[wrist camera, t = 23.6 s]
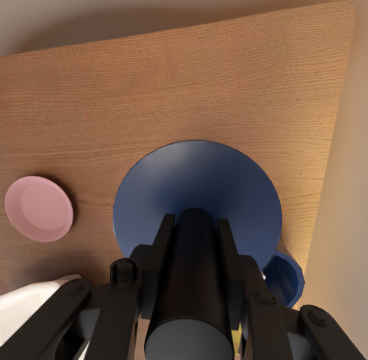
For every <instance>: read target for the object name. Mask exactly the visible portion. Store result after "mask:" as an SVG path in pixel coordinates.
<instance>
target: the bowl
mask: <svg viewBox="0 0 368 360" xmlns="http://www.w3.org/2000/svg"><path fill="white" fill-rule="evenodd" d="M76 278H82V277H81V276H80V275H79V274H74V275H66V276H64V277H61V278H59V279H56V280H53V281H48V282H39V283H32V284H29V285H27V286H24V287H22V288H19V289H16V290H14V291H11V292H8V293H6V294H3V295H1V296H0V347H1V346H2V345H3V344H4V343H5V342H6V341H7V340H8V339H9V338H10V337H11V336H12V335H13V334H14V333H15V332H16V331H17V330H18V329H19V328H20V327H21V326H22V325H23V324H24V323H25V322H26V321H27V320H28V319H29V318H30V317H31V316H32V315H33V314H34V313H35V312H36V311H37V310H38V309H39V308H40V306H41V305H42V304H43V303H44V302H45V301H46V300H47V299H48V298H49V297H50V296H51V295H52V294H53V293H54V292H55V291H56V290H57V289H58V288H59V287H60V286H61V285H63V284H64V283H65V282H67V281H69V280H72V279H76ZM89 342H90V341H89ZM88 345H89V343H88ZM88 345H87V346H86V348H85V350H84V351H83V353H82V355H81V356H80V358H79V360H83V359H84V356H85V353H86V351H87V348H88Z"/></svg>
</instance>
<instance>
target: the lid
mask: <svg viewBox="0 0 368 360" xmlns="http://www.w3.org/2000/svg"><path fill="white" fill-rule="evenodd" d="M165 213H169V214H175V223H174V230H173V234H172V238H171V242H170V245H169V249H168V253H167V257H166V261H165V265H164V269H163V273H162V277H161V281H160V284H159V288H158V292H157V296H156V300H155V304H154V307H153V311H152V315H151V319H150V323H149V327H148V331H147V335H146V339H145V343H144V352H145V357H146V360H234V357H235V351H234V344H233V337H232V331H231V324H230V318H229V311H228V305H227V299H226V292H225V286H224V279H223V273H222V266H221V260H220V254H219V247H218V241H217V234H216V229H217V221H218V219H228V221H229V224H230V228H231V231H232V234H233V237H234V241H235V244H236V247H237V251H238V254H242V255H251V256H252V257H253V258H254V259H255V260H256V262H257V264H258V267H259V269H260V271H262V269H263V268H264V267H265V266H266V265H267V263H268V262H269V261H270V259H271V257H272V256H273V254H274V252H275V250H276V247H277V245H278V242H279V238H280V235H281V228H282V211H281V205H280V201H279V198H278V195H277V192H276V190H275V188H274V186H273V184H272V182H271V180H270V179H269V177H268V176H267V175H266V173H265V172H264V171H263V170H262V169H261V168H260V166H259V165H258V164H256V163H255V162H254V161H253V160H252V159H250V158H249V157H248V156H246V155H245V154H243V153H241V152H240V151H238V150H236V149H234V148H232V147H229V146H227V145H224V144H221V143H217V142H213V141H206V140H186V141H179V142H175V143H171V144H168V145H165V146H163V147H160V148H158V149H156V150H154V151H152V152H151V153H149V154H147V155H146V156H145V157H143V158H142V159H141V160H139V161H138V162H137V163H136V164H135V165H134V166H133V167H132V168H131V169H130V171H129V172H128V173H127V175H126V176H125V177H124V179H123V181H122V183H121V185H120V186H119V189H118V192H117V194H116V197H115V202H114V207H113V227H114V232H115V237H116V239H117V242H118V245H119V247H120V249H121V251H122V253H123V255H124V257H125V258H129V257H130V255H131V253H132V251H133V249H134V248H135V247H136V246H138V245H139V244H146V245H152V244H153V242H154V240H155V237H156V235H157V232H158V230H159V227H160V225H161V222H162V220H163V217H164V215H165Z"/></svg>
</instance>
